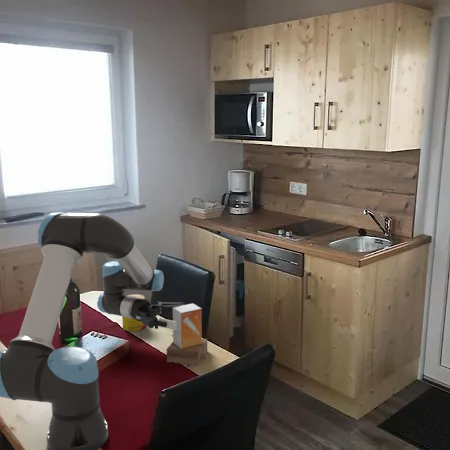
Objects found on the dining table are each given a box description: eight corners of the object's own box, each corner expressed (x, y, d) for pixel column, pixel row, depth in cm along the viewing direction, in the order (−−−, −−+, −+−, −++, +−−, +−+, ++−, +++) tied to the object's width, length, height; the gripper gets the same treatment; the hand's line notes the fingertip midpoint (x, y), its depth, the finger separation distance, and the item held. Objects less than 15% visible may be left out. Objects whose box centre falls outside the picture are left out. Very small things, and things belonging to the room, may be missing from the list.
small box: (181, 349, 173) (180, 312, 171) (172, 343, 179) (171, 307, 176) (202, 344, 178) (201, 308, 175) (193, 337, 183) (192, 302, 180)
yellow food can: (140, 332, 199) (139, 302, 197) (118, 330, 201) (117, 300, 199) (149, 323, 208) (148, 295, 205) (128, 321, 210) (127, 293, 207)
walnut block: (198, 366, 172) (197, 352, 171) (167, 362, 175) (166, 349, 174) (207, 352, 183) (207, 339, 182) (177, 349, 185) (177, 336, 184)
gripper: (156, 307, 198) (204, 316, 188) (114, 330, 176) (166, 342, 166) (155, 288, 196) (204, 297, 187) (113, 309, 174) (166, 320, 165)
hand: (186, 318), depth 177 cm, fingers open, 13 cm apart
